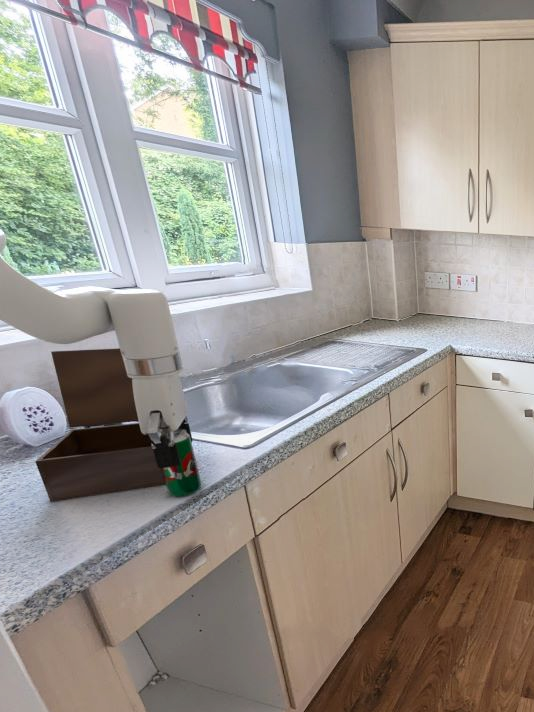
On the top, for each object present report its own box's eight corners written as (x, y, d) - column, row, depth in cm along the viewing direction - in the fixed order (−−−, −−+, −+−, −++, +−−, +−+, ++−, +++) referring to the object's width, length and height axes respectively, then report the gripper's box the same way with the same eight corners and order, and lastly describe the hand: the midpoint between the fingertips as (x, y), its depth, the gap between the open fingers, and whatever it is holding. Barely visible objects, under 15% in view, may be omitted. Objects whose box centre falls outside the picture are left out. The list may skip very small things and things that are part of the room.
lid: (162, 346, 93) (164, 346, 94) (50, 351, 86) (53, 351, 87) (176, 417, 96) (177, 416, 97) (69, 427, 89) (71, 426, 90)
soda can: (200, 481, 89) (187, 425, 85) (203, 492, 85) (189, 434, 81) (168, 489, 86) (152, 431, 82) (169, 501, 82) (153, 441, 78)
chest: (169, 484, 87) (159, 446, 85) (50, 501, 80) (34, 461, 78) (185, 452, 99) (177, 418, 97) (83, 465, 92) (71, 429, 90)
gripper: (142, 353, 83) (163, 438, 89) (106, 381, 68) (135, 480, 74) (191, 350, 86) (209, 433, 92) (168, 377, 71) (191, 473, 77)
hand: (176, 454), depth 83 cm, fingers open, 9 cm apart
